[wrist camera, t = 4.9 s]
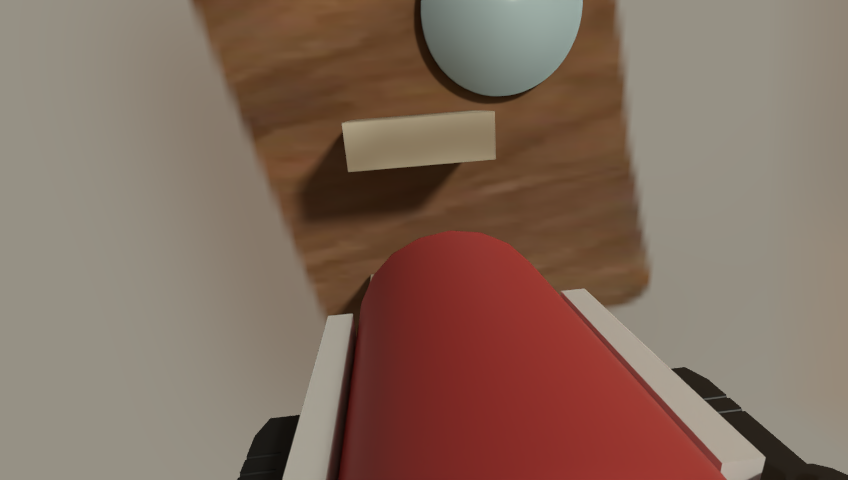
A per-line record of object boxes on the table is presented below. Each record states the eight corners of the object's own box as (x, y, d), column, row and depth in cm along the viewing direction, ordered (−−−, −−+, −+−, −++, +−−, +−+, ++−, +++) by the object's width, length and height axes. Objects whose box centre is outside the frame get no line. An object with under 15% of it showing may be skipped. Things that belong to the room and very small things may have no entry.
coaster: (413, -81, 23) (414, -85, 23) (581, -90, 24) (586, -94, 23) (426, 102, 27) (427, 101, 26) (574, 90, 27) (579, 90, 27)
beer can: (371, 395, 16) (329, 1138, 4) (350, 233, 14) (168, 860, 2) (537, 376, 16) (890, 1015, 5) (541, 216, 14) (1187, 682, 3)
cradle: (351, 120, 27) (341, 123, 21) (472, 110, 27) (494, 111, 21) (374, 304, 31) (371, 349, 25) (478, 293, 31) (498, 335, 26)
